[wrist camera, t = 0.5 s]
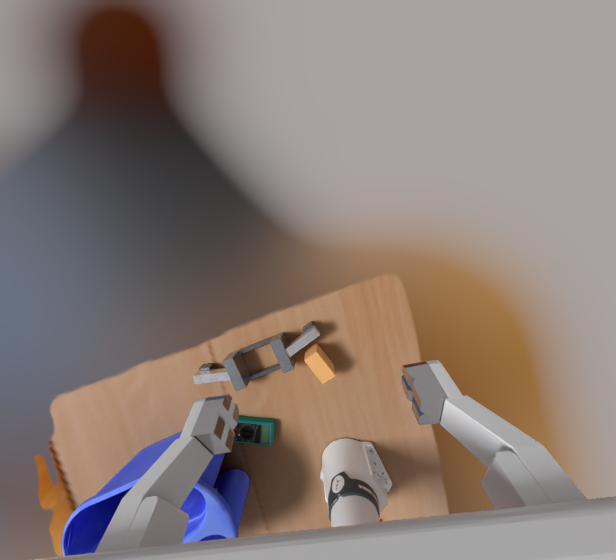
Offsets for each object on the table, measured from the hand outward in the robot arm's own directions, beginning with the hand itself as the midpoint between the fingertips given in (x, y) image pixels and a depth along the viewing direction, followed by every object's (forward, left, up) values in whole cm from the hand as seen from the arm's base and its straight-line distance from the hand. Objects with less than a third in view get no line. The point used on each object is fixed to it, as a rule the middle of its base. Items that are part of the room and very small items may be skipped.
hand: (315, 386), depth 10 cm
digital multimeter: (-23, +43, -50) cm, 70 cm away
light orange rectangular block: (-18, +13, -50) cm, 55 cm away
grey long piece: (-8, +26, -50) cm, 57 cm away
